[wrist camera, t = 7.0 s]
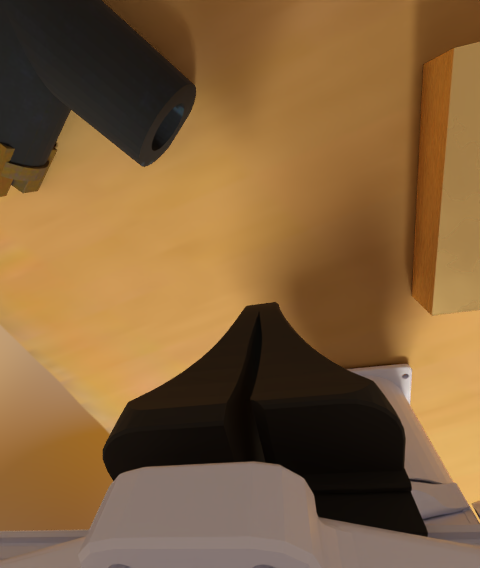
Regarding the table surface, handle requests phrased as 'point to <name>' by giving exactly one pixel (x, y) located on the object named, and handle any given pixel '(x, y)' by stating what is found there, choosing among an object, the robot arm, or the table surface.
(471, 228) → the tan flat block
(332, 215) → the table surface
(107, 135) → the pipe connector
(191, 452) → the robot arm
